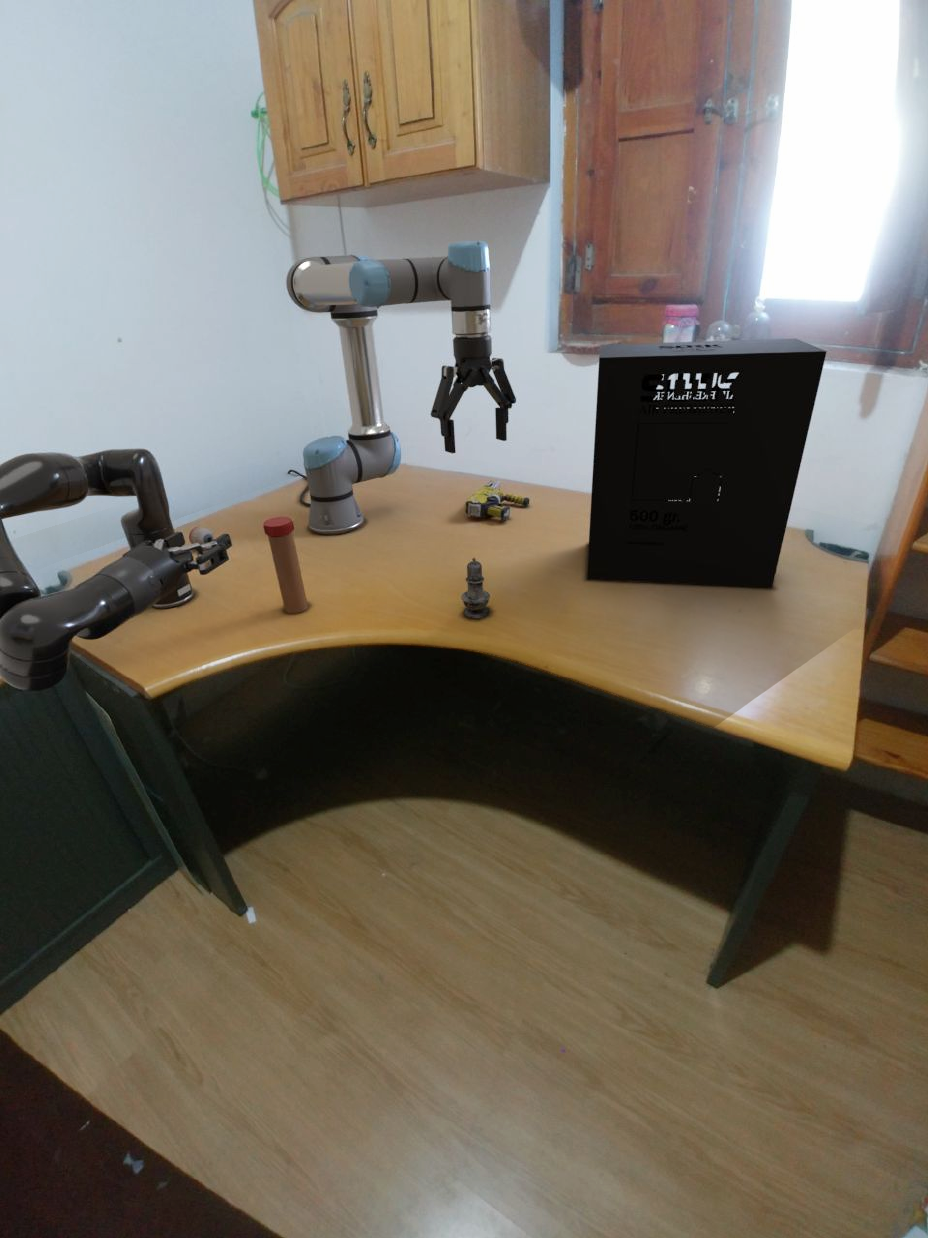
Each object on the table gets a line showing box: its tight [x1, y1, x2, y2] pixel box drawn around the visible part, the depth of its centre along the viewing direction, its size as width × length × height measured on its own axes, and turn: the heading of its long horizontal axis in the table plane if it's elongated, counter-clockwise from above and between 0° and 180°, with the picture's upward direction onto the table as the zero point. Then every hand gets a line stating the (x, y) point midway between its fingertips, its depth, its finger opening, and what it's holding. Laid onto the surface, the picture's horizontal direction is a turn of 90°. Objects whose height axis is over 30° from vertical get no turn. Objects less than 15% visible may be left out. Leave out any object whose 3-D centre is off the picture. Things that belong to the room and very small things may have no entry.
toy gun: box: [464, 480, 531, 522], centre depth 174 cm, size 5×24×15 cm
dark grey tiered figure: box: [460, 557, 491, 619], centre depth 119 cm, size 6×6×12 cm
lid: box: [262, 516, 295, 537], centre depth 119 cm, size 6×6×2 cm
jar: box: [267, 531, 309, 615], centre depth 123 cm, size 5×5×19 cm
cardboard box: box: [586, 338, 828, 589], centre depth 126 cm, size 38×20×45 cm, turn 78°
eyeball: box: [188, 525, 215, 545], centre depth 158 cm, size 6×6×6 cm
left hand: (205, 538), depth 96 cm, fingers open, 8 cm apart
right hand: (476, 445), depth 127 cm, fingers open, 13 cm apart
